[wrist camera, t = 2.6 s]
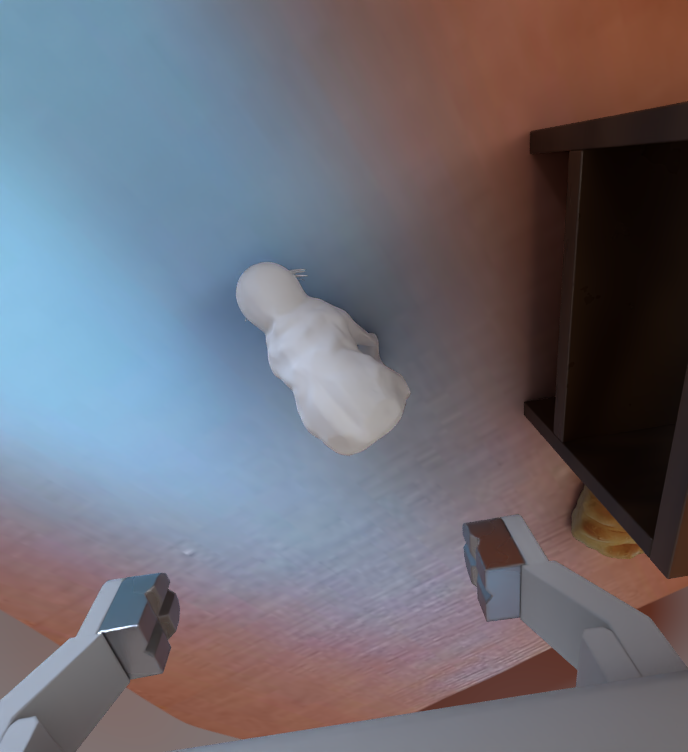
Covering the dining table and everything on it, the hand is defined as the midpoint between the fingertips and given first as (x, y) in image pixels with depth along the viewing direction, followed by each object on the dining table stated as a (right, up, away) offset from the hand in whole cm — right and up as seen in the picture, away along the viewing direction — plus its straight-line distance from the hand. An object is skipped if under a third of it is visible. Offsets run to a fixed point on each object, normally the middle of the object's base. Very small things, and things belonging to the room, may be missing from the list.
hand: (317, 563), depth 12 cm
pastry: (+23, -5, +26) cm, 35 cm away
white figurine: (-1, +8, +18) cm, 20 cm away
